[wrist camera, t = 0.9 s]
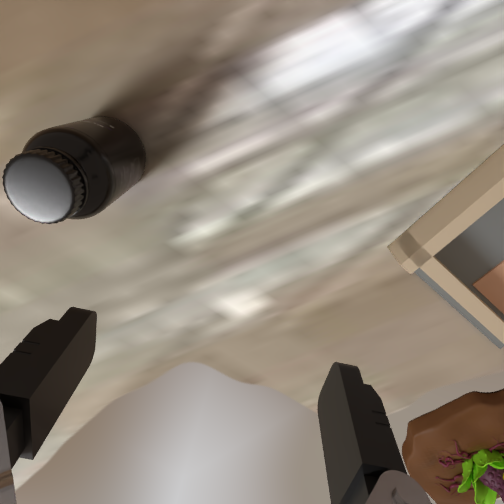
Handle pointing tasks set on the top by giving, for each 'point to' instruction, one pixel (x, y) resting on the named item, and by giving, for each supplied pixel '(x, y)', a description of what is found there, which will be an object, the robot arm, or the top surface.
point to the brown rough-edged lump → (459, 449)
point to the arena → (464, 248)
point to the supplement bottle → (74, 170)
